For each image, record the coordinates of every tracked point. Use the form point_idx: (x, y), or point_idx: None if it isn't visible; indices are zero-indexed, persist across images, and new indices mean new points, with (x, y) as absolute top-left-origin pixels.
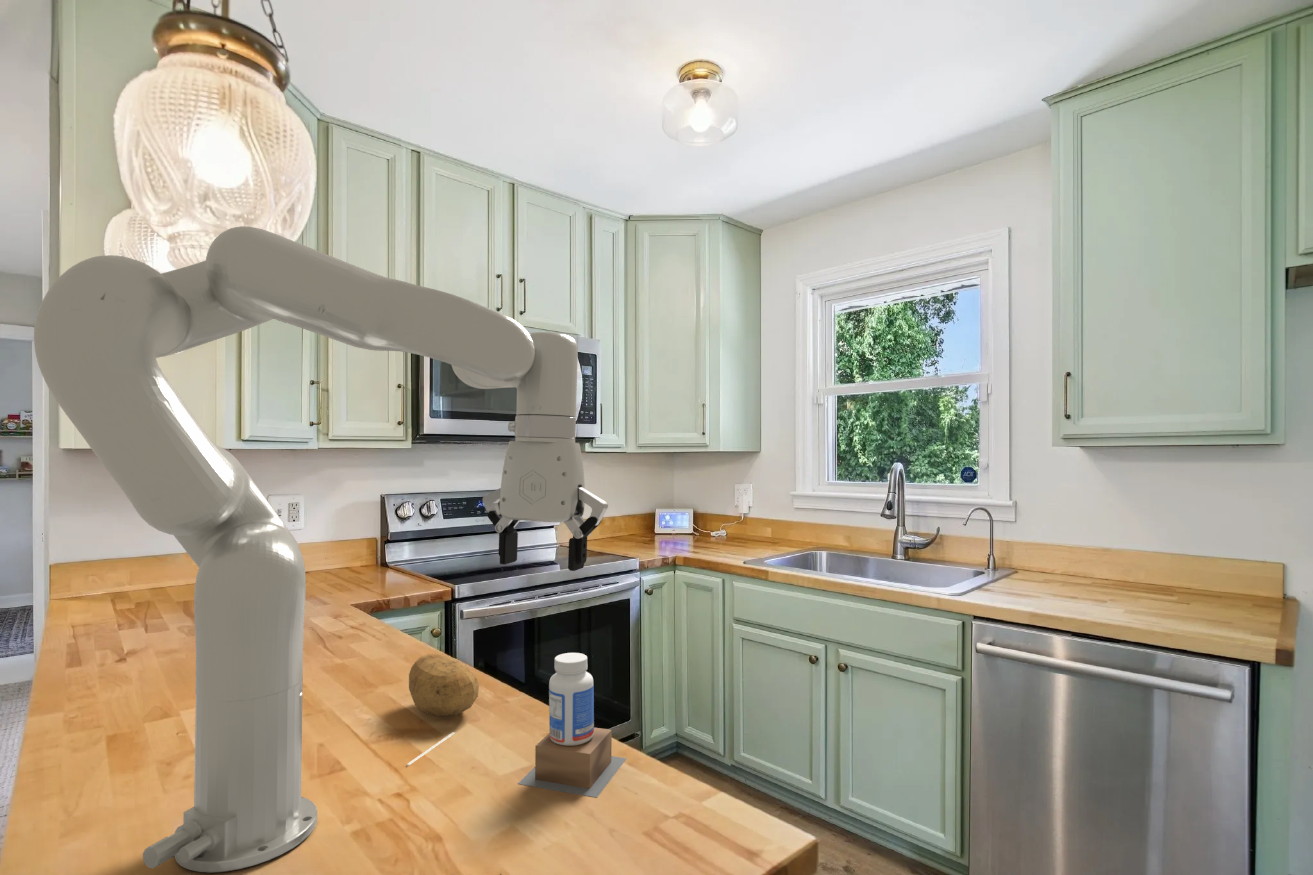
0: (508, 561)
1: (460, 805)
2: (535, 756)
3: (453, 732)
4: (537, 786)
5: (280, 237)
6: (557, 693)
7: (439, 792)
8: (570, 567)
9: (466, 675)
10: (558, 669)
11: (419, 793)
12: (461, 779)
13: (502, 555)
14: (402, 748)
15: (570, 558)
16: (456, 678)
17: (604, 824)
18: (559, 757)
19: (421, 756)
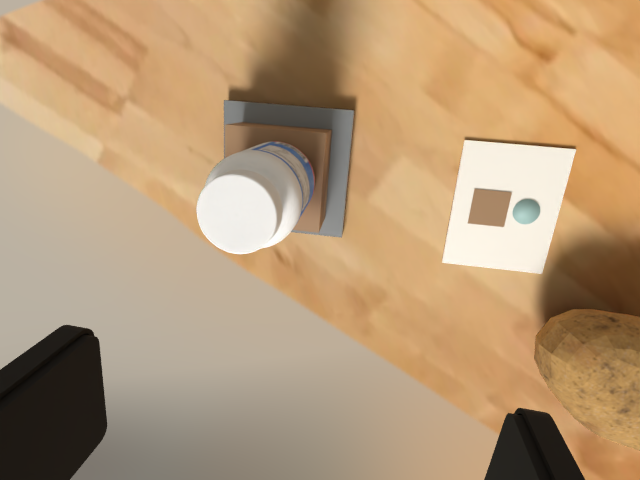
0: (500, 445)
1: (426, 49)
2: (328, 132)
3: (540, 273)
4: (320, 108)
5: None
6: (267, 152)
7: (477, 79)
8: (71, 332)
9: (570, 363)
10: (259, 175)
11: (510, 67)
12: (459, 127)
13: (546, 446)
14: (611, 206)
15: (31, 362)
16: (587, 346)
17: (201, 56)
18: (283, 128)
19: (561, 181)
